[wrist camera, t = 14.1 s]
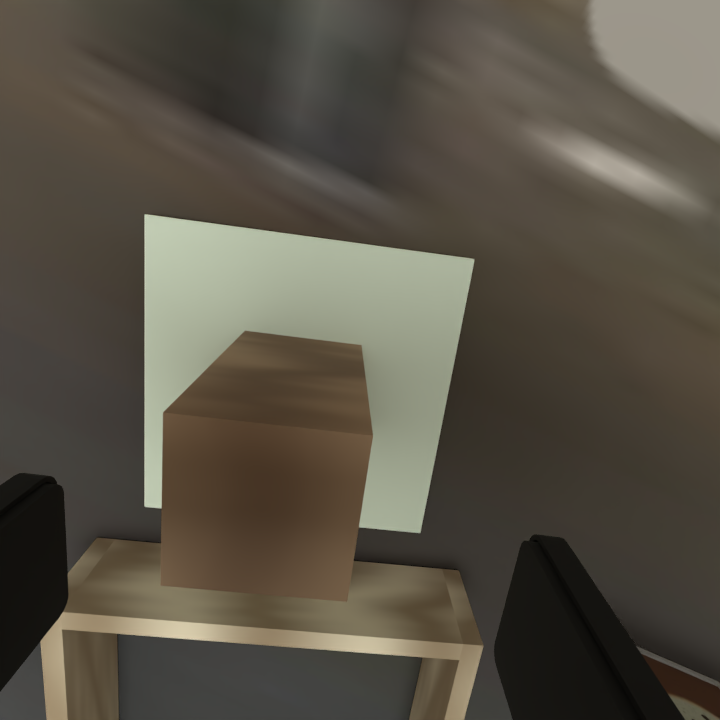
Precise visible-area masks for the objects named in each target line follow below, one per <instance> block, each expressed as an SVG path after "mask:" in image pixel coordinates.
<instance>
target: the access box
mask: <svg viewBox="0 0 720 720" xmlns="http://www.w3.org/2000/svg"><path fill="white" fill-rule="evenodd" d="M160 579H161V543H151V542H140V541H129V540H118V539H107V538H96V539H95V541H94V542H93V543H92V544H91V545H90V547H89V548H88V549H87V550H86V552H85V553H84V554H83V555H82V557H81V558H80V559H79V560H78V561H77V563H76V564H75V565H74V566H73V568H72V569H71V570H70V571H69V573H68V593H69V594H68V601H67V604H66V607H65V609H64V611H63V613H62V614H61V616H60V617H59V619H58V620H57V621H56V622H55V624H54V625H53V626H52V627H51V629H50V630H49V631H48V632H47V634H46V635H45V636H44V637H43V639H42V640H41V653H42V666H43V678H44V691H45V703H46V715H47V720H119V700H118V651H117V634H128V635H141V636H154V637H167V638H180V639H193V640H205V641H218V642H231V643H244V644H257V645H270V646H283V647H296V648H308V649H321V650H334V651H347V652H360V653H373V654H386V655H399V656H411V657H423V658H422V663H421V667H420V672H419V676H418V681H417V685H416V690H415V695H414V699H413V704H412V708H411V713H410V717H409V720H464V717H465V714H466V710H467V706H468V702H469V699H470V695H471V691H472V687H473V684H474V680H475V676H476V672H477V668H478V665H479V661H480V657H481V653H482V650H483V643H482V640H481V637H480V634H479V631H478V628H477V624H476V621H475V618H474V615H473V612H472V609H471V606H470V603H469V600H468V597H467V594H466V591H465V588H464V585H463V582H462V579H461V576H460V573H459V570H449V569H438V568H427V567H416V566H405V565H394V564H383V563H372V562H361V561H353V568H352V574H351V581H350V587H349V593H348V600H347V602H343V601H331V600H319V599H308V598H296V597H285V596H273V595H262V594H250V593H238V592H227V591H215V590H204V589H192V588H181V587H169V586H160Z"/></svg>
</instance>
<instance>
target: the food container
mask: <svg viewBox="0 0 720 720" xmlns="http://www.w3.org/2000/svg"><path fill="white" fill-rule="evenodd" d="M636 647H637V646H636ZM637 648H638V650H639V651H640V653H641V654H642V656H643V657H644V659H645V660H646V662H647V663H648V665H649V666H650V668H651V669H652V671H653V672H654V674H655V675H656V677H657V678H658V680H659V681H660V683H661V684H662V686H663V687H664V689H665V690H666V692H667V693H668V695H669V696H670V698H671V699H672V701H673V702H674V704H675V705H676V707H677V708H678V710H679V711H680V713H681V714H682V716H683V717H684V719H685V720H720V683H719V682H718V681H716V680H713V679H711V678H709V677H707V676H704V675H702V674H700V673H697V672H695V671H693V670H690V669H688V668H686V667H683V666H681V665H679V664H677V663H674V662H672V661H670V660H667V659H665V658H663V657H660V656H658V655H656V654H654V653H651V652H649V651H647V650H644V649H642V648H640V647H637Z"/></svg>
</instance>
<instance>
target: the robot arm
mask: <svg viewBox="0 0 720 720" xmlns="http://www.w3.org/2000/svg"><path fill="white" fill-rule="evenodd" d="M68 594H69V593H68V572H67V551H66V530H65V509H64V491H63V488H62V486H60V485H57V482H56V480H55V479H54V478H53V477H51V476H44V475H36V474H28V473H19V474H17V475H15V476H13V477H12V478H10V479H9V480H7V481H6V482H5V483H3V484H2V485H0V691H1V690H2V689H3V687H4V686H5V685H6V684H7V682H8V681H9V680H10V679H11V677H12V676H13V675H14V674H15V672H16V671H17V670H18V669H19V667H20V666H21V665H22V664H23V662H24V661H25V660H26V659H27V657H28V656H29V655H30V654H31V652H32V651H33V650H34V649H35V647H36V646H37V645H38V644H39V642H40V641H41V640H42V639H43V637H44V636H45V635H46V634H47V632H48V631H49V630H50V629H51V627H52V626H53V625H54V624H55V622H56V621H57V620H58V619H59V617H60V616H61V614H62V613H63V611H64V609H65V607H66V604H67V601H68ZM494 656H495V663H496V667H497V670H498V673H499V676H500V679H501V683H502V686H503V689H504V692H505V696H506V699H507V702H508V705H509V708H510V712H511V715H512V718H513V720H685V719H684V717H683V716H682V714H681V713H680V711H679V710H678V708H677V707H676V705H675V704H674V702H673V701H672V699H671V698H670V696H669V695H668V693H667V692H666V690H665V689H664V687H663V686H662V684H661V683H660V681H659V680H658V678H657V677H656V675H655V674H654V672H653V671H652V669H651V668H650V666H649V665H648V663H647V662H646V660H645V659H644V657H643V656H642V654H641V653H640V651H639V650H638V648H637V647H636V645H635V644H634V642H633V641H632V639H631V638H630V636H629V635H628V633H627V632H626V630H625V629H624V627H623V626H622V624H621V623H620V621H619V620H618V618H617V617H616V615H615V614H614V612H613V611H612V609H611V608H610V606H609V605H608V603H607V602H606V600H605V599H604V597H603V596H602V594H601V593H600V591H599V590H598V588H597V587H596V585H595V584H594V582H593V581H592V579H591V578H590V576H589V575H588V573H587V572H586V570H585V569H584V567H583V566H582V564H581V563H580V561H579V560H578V558H577V557H576V555H575V554H574V552H573V551H572V549H571V548H570V546H569V545H568V543H567V542H566V541H565V540H564V539H563V538H560V537H552V536H544V535H533V536H532V537H531V538H530V540H529V541H523V543H522V544H521V547H520V551H519V554H518V558H517V562H516V566H515V569H514V573H513V577H512V581H511V584H510V588H509V592H508V596H507V599H506V603H505V607H504V611H503V614H502V618H501V622H500V626H499V629H498V633H497V637H496V641H495V646H494Z"/></svg>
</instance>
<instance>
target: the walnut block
mask: <svg viewBox="0 0 720 720" xmlns="http://www.w3.org/2000/svg"><path fill="white" fill-rule="evenodd" d="M372 440H373V431H372V423H371V415H370V408H369V400H368V392H367V384H366V376H365V369H364V361H363V353H362V345H357V344H349V343H341V342H333V341H325V340H317V339H308V338H300V337H292V336H284V335H276V334H268V333H260V332H252V331H244V332H243V333H242V334H241V335H240V336H239V337H238V338H237V339H236V340H235V341H234V342H233V343H232V344H231V345H230V346H229V347H228V348H227V349H226V350H225V351H224V352H223V353H222V354H221V355H220V356H219V357H218V358H217V359H216V360H215V361H214V362H213V363H212V364H211V365H210V366H209V367H208V368H207V369H206V370H205V371H204V372H203V373H202V374H201V375H200V376H199V377H198V378H197V379H196V380H195V381H194V382H193V383H192V384H191V385H190V386H189V387H188V388H187V389H186V390H185V391H184V392H183V393H182V394H181V395H180V396H179V397H178V398H177V399H176V400H175V401H174V402H173V403H172V404H171V405H170V406H169V407H168V408H167V409H166V410H165V411H164V412H163V444H162V512H161V579H160V586H169V587H181V588H192V589H204V590H215V591H227V592H238V593H250V594H262V595H273V596H285V597H296V598H308V599H319V600H331V601H343V602H347V600H348V593H349V587H350V581H351V574H352V568H353V561H354V555H355V549H356V542H357V536H358V529H359V523H360V516H361V510H362V504H363V497H364V491H365V484H366V478H367V472H368V465H369V459H370V452H371V446H372Z"/></svg>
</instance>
